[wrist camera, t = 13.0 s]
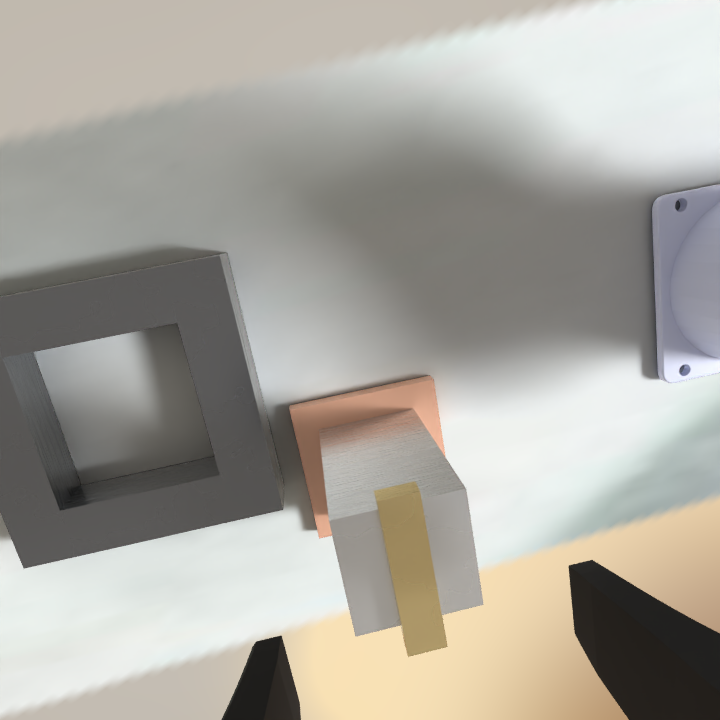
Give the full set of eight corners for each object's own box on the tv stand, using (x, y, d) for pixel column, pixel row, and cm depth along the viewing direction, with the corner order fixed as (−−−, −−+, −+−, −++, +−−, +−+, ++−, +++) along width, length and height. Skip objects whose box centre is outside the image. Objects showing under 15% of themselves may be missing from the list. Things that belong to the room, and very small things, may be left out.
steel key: (430, 505, 23) (492, 635, 16) (340, 526, 23) (361, 668, 15) (411, 394, 22) (470, 479, 14) (315, 415, 21) (325, 513, 14)
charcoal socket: (227, 252, 20) (219, 255, 18) (284, 485, 23) (283, 509, 21) (-44, 304, 19) (-82, 312, 17) (47, 538, 22) (23, 568, 20)
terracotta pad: (429, 375, 22) (433, 379, 22) (449, 500, 24) (453, 507, 23) (289, 405, 22) (289, 410, 21) (318, 530, 23) (319, 538, 23)
